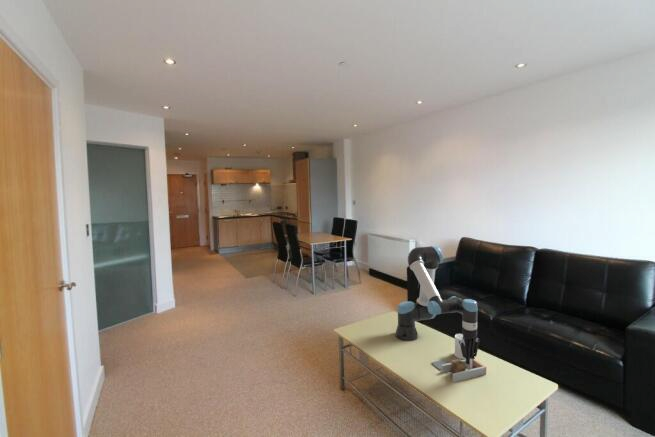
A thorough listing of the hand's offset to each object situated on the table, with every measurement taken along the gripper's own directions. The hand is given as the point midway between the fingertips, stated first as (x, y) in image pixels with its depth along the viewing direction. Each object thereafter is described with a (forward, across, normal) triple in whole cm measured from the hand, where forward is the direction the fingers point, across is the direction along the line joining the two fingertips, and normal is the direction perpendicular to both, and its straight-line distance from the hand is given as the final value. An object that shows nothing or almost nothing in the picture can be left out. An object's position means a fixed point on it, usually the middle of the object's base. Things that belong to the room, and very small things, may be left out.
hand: (469, 369), depth 176 cm
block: (+2, -8, 0) cm, 8 cm away
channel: (+1, -5, 0) cm, 5 cm away
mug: (+2, +8, +14) cm, 16 cm away
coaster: (+1, -11, +10) cm, 15 cm away
